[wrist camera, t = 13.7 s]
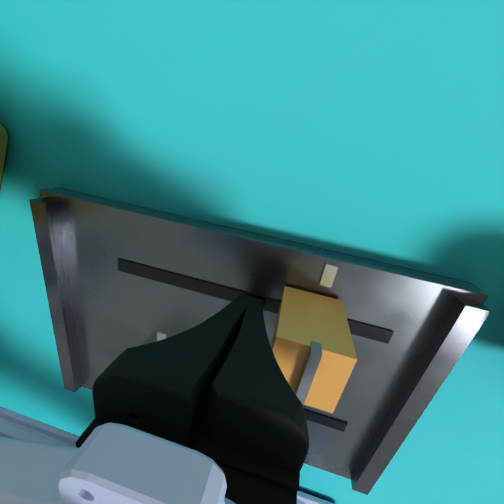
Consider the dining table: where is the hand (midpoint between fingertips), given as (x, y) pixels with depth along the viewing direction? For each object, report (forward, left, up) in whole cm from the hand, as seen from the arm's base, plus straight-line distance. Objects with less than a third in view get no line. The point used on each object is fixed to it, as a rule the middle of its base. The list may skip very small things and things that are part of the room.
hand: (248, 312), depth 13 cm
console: (-4, +1, -2) cm, 5 cm away
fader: (0, -3, -1) cm, 3 cm away
